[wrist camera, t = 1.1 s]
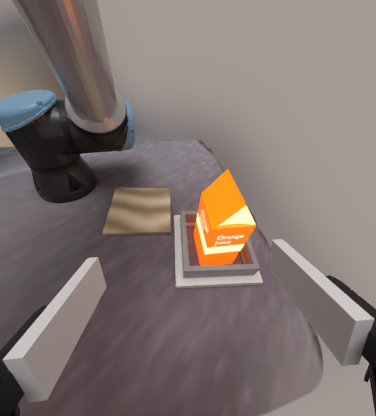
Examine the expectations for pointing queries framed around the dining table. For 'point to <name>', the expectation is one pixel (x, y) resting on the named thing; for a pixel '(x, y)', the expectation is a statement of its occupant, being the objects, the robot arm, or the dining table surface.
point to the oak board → (139, 212)
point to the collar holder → (210, 273)
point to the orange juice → (222, 222)
